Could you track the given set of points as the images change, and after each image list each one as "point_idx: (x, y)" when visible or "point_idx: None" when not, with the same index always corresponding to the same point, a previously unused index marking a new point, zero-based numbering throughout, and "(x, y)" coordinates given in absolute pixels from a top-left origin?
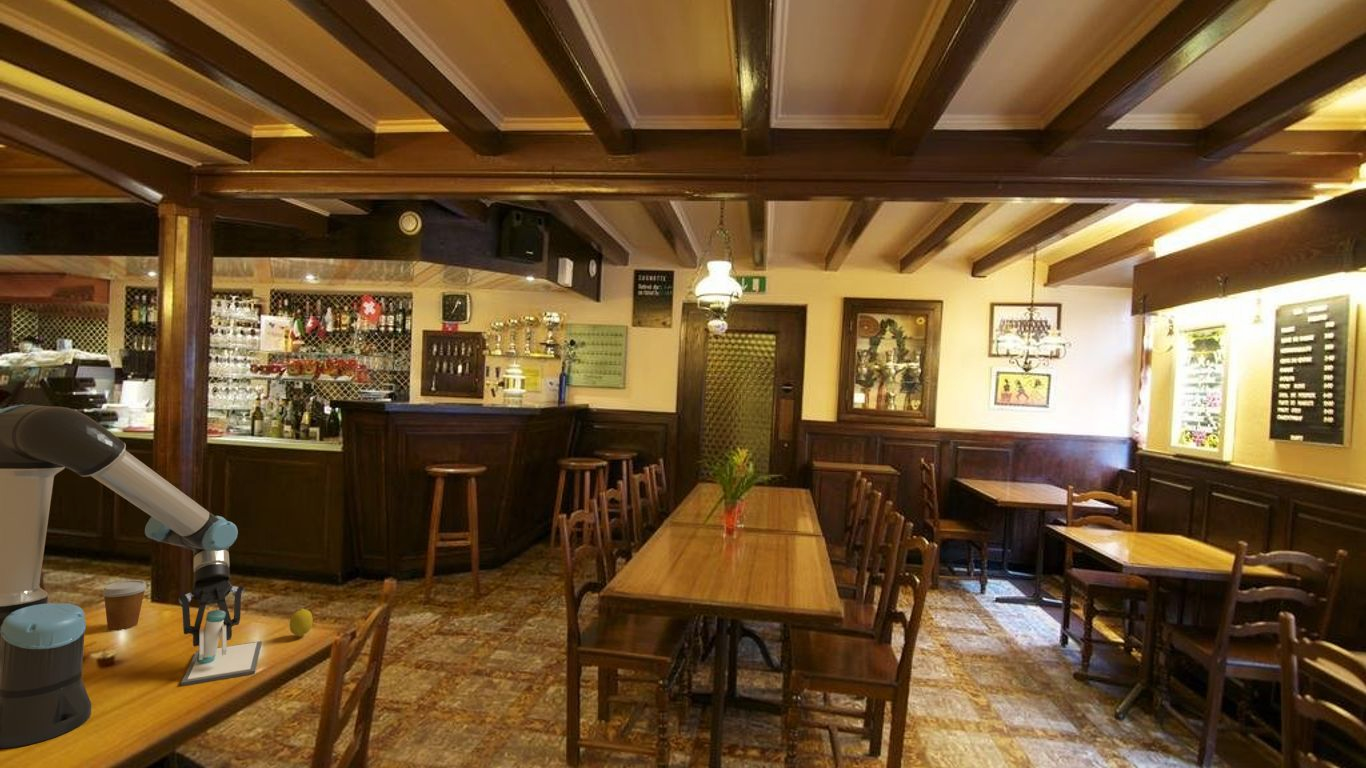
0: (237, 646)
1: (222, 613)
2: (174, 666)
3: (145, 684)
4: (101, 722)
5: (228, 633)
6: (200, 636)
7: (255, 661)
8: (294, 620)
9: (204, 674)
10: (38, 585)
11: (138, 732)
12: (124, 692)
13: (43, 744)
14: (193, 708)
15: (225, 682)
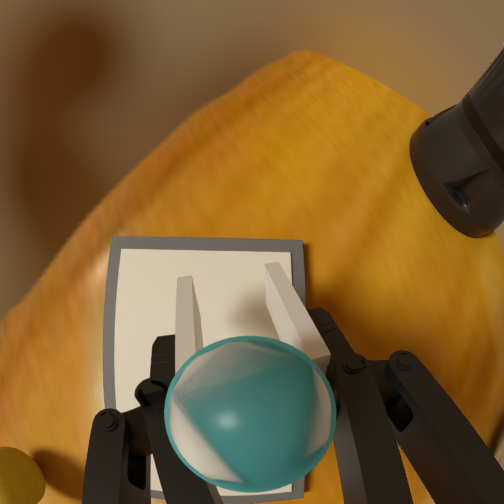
0: None
1: (194, 420)
2: None
3: (387, 302)
4: (386, 141)
5: (167, 355)
6: (308, 322)
7: (107, 316)
8: (9, 472)
9: (247, 267)
10: None
11: (311, 82)
12: (411, 269)
13: (418, 121)
14: (244, 111)
15: (186, 214)
